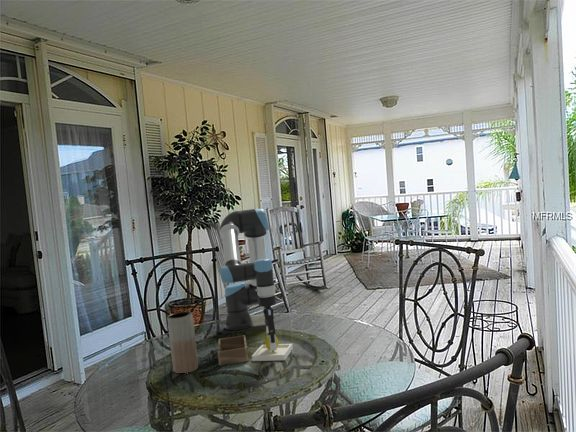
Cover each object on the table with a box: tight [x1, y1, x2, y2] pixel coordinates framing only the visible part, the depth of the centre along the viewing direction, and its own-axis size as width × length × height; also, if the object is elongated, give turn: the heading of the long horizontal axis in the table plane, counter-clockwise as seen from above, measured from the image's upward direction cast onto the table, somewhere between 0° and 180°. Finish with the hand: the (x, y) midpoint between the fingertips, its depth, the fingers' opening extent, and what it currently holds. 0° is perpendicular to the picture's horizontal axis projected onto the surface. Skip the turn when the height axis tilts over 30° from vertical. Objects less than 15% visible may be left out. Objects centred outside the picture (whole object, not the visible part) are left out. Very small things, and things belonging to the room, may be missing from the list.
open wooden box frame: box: [217, 334, 249, 366], centre depth 190 cm, size 20×12×6 cm, turn 8°
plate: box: [251, 343, 294, 362], centre depth 186 cm, size 14×14×2 cm
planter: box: [166, 311, 199, 374], centre depth 179 cm, size 10×10×23 cm
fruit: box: [264, 335, 279, 352], centre depth 186 cm, size 6×6×8 cm
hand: (272, 345), depth 186 cm, fingers open, 13 cm apart
